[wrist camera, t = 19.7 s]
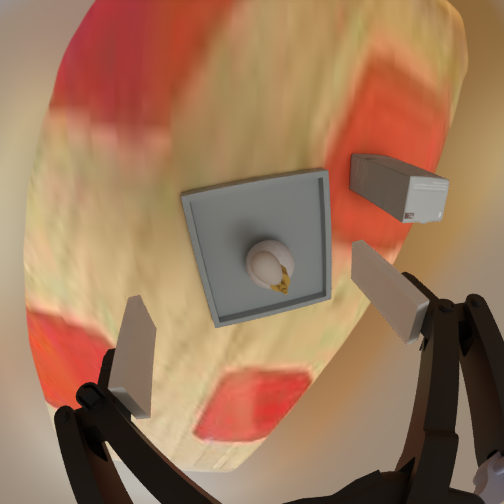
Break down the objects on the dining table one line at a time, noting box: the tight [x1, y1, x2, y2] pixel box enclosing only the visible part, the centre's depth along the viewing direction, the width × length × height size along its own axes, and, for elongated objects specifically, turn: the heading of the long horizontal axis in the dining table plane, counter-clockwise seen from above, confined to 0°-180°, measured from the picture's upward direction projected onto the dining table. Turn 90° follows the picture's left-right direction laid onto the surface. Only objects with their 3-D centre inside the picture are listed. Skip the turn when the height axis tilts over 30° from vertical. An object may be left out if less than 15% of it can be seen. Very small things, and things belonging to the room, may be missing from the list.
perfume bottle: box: [246, 240, 295, 295], centre depth 40 cm, size 8×10×12 cm
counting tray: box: [181, 168, 332, 328], centre depth 45 cm, size 24×22×2 cm
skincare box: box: [349, 154, 449, 224], centre depth 37 cm, size 8×7×16 cm
